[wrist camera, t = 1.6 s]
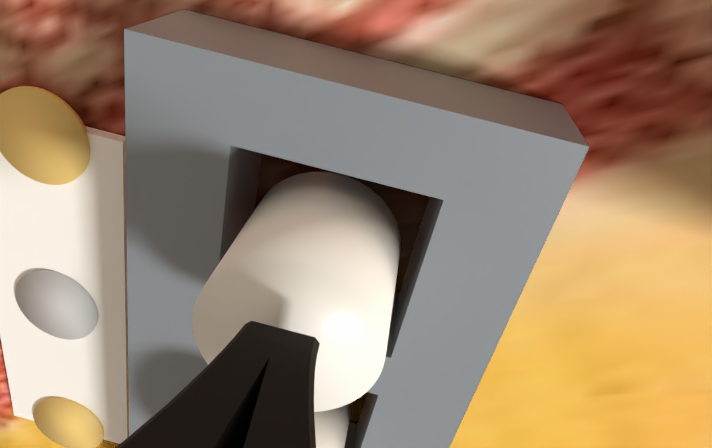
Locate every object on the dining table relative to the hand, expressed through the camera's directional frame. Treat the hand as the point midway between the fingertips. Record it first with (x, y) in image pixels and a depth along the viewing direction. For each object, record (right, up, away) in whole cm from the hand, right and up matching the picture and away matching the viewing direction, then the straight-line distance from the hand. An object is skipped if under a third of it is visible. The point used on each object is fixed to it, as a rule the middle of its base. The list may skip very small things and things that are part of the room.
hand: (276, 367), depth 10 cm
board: (0, -2, +9) cm, 9 cm away
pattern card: (-9, 0, +9) cm, 13 cm away
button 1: (+1, +2, +4) cm, 5 cm away
